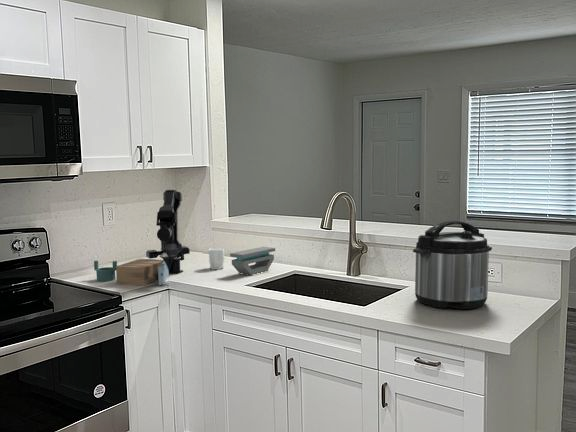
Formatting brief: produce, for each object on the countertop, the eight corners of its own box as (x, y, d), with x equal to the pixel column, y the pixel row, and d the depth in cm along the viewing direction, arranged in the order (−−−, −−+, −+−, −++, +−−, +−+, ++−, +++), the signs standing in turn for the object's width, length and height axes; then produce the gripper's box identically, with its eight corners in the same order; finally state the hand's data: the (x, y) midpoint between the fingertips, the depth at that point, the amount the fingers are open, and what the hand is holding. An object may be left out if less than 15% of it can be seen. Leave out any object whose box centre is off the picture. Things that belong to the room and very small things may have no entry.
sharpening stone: (242, 277, 273) (242, 254, 272) (230, 275, 278) (229, 253, 277) (275, 269, 293) (275, 248, 292) (263, 267, 298) (263, 246, 297)
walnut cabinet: (140, 275, 281) (139, 258, 280) (166, 276, 277) (165, 260, 276) (116, 283, 262) (116, 266, 261) (144, 285, 258) (143, 267, 257)
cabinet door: (166, 275, 277) (166, 259, 276) (170, 275, 277) (170, 259, 276) (158, 285, 257) (158, 267, 256) (162, 285, 257) (162, 267, 256)
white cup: (222, 270, 292) (221, 250, 291) (207, 269, 293) (206, 250, 292) (226, 267, 300) (226, 247, 299) (211, 266, 301) (211, 247, 300)
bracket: (118, 280, 270) (117, 261, 269) (97, 282, 265) (97, 263, 265) (113, 277, 278) (112, 258, 277) (93, 279, 273) (92, 260, 272)
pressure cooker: (483, 294, 238) (486, 217, 235) (498, 313, 210) (501, 225, 207) (408, 292, 242) (410, 216, 239) (413, 310, 214) (414, 224, 211)
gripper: (151, 241, 252) (153, 277, 254) (192, 237, 260) (194, 271, 262) (144, 238, 261) (146, 272, 263) (184, 233, 270) (186, 266, 272)
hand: (169, 270), depth 265 cm, fingers closed
